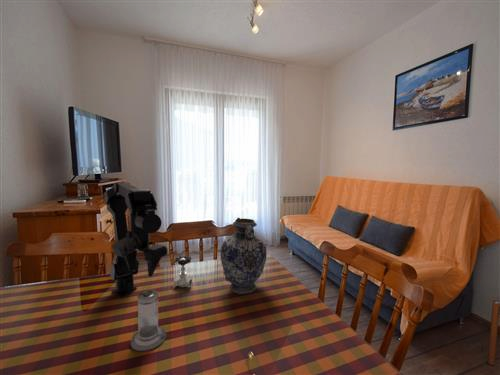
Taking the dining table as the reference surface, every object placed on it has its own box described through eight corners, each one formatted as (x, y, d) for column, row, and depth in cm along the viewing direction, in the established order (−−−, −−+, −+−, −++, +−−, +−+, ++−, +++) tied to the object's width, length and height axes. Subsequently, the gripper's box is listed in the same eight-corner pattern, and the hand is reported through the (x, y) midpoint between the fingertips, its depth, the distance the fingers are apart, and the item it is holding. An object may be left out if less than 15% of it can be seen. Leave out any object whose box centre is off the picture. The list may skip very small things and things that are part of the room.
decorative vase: (215, 278, 102) (217, 215, 100) (255, 274, 107) (257, 214, 106) (225, 305, 81) (228, 227, 79) (274, 298, 87) (277, 225, 85)
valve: (186, 292, 90) (186, 262, 89) (171, 290, 91) (171, 260, 91) (194, 284, 97) (194, 256, 96) (179, 282, 98) (179, 254, 97)
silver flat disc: (123, 344, 62) (123, 340, 62) (150, 324, 71) (150, 321, 70) (146, 356, 59) (146, 351, 58) (172, 334, 67) (172, 330, 67)
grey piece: (135, 334, 65) (134, 295, 64) (153, 326, 68) (153, 288, 67) (142, 344, 61) (142, 302, 60) (161, 334, 65) (161, 295, 64)
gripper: (97, 229, 72) (98, 277, 73) (137, 237, 64) (138, 291, 65) (129, 222, 82) (130, 264, 83) (168, 228, 74) (168, 275, 75)
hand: (140, 273), depth 77 cm, fingers open, 9 cm apart
